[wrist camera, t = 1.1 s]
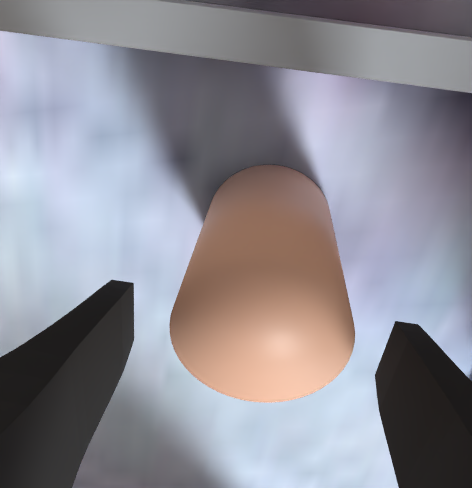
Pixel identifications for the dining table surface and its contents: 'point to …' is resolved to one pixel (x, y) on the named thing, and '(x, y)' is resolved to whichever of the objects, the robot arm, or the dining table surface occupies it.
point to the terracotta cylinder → (265, 291)
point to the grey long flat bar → (253, 38)
